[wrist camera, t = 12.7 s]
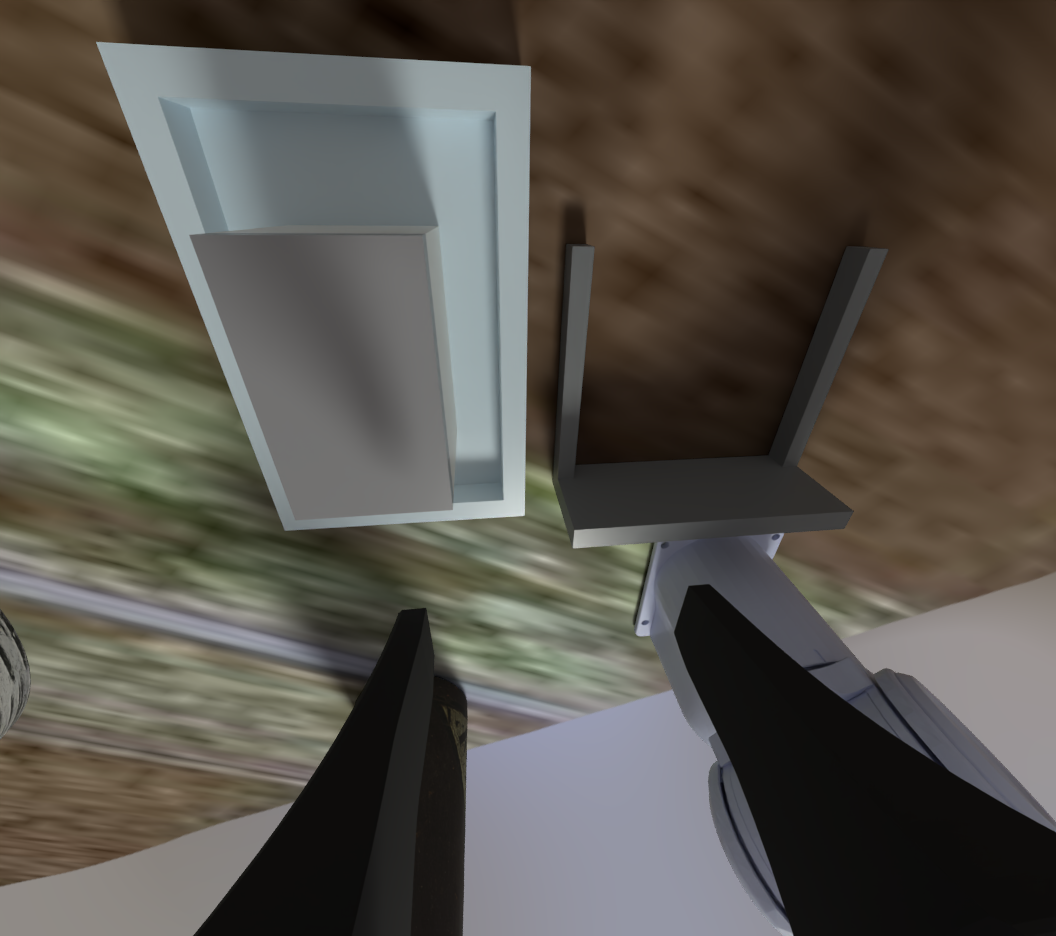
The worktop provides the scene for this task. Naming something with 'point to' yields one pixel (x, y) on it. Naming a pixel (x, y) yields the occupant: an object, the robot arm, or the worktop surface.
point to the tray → (358, 208)
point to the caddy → (343, 360)
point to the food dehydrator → (12, 676)
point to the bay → (711, 483)
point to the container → (441, 818)
